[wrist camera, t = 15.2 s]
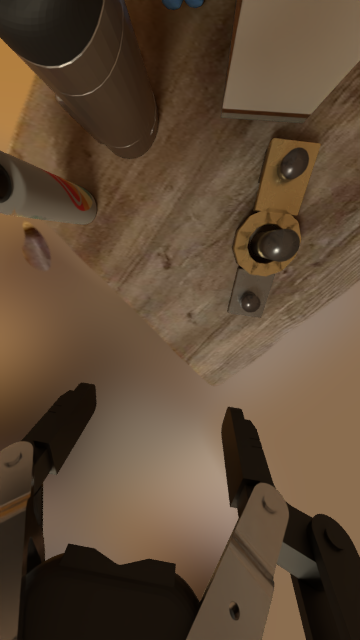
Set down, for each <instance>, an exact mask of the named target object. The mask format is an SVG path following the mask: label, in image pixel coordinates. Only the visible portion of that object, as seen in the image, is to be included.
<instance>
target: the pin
mask: <svg viewBox="0 0 360 640" xmlns="http://www.w3.org/2000/svg"><path fill="white" fill-rule="evenodd" d="M299 245H300V239H299V236H298V234H297V233H296V232H295V231H293V230H291V229H280V230H271V231H263V232H259V233H257V234H256V235H254V236H253V238H252V239H251V242H250V250H251V252H252V253H253V254H254V255H256V256H259V257H263V258H266V259H270V260H273V261H277V262H283V261H287V260H289V259H291V258H292V257H293V256H294V255H295V254H296V252H297V251H298V249H299Z"/></svg>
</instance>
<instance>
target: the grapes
mask: <svg viewBox="0 0 360 640" xmlns="http://www.w3.org/2000/svg"><path fill="white" fill-rule="evenodd" d="M203 1H204V0H185V2H186V3H187V4H188V5H189V6H190V7H193V8H197V7H200V6H201V5H202V4H203ZM182 2H183V0H162V3H163V4H164V5H165V6H166V7H167V8H168V9H171V10H176V9H179V8H180V6H181V4H182Z"/></svg>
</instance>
